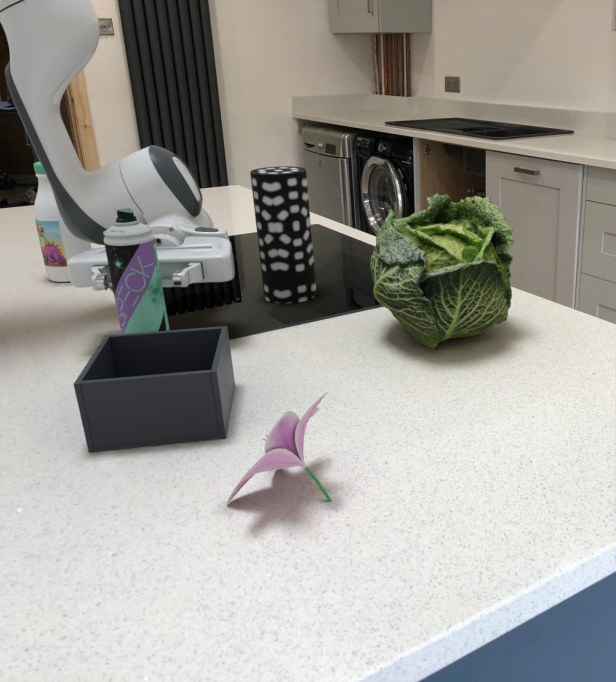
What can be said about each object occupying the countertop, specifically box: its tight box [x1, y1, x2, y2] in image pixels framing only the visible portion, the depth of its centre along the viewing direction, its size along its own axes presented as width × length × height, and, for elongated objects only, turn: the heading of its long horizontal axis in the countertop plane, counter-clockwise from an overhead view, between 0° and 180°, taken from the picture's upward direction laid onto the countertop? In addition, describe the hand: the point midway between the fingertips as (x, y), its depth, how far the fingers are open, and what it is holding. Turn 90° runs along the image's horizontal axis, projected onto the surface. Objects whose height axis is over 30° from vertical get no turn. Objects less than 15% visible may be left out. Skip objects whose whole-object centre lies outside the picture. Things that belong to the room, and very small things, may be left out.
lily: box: [226, 390, 332, 505], centre depth 64 cm, size 12×12×10 cm
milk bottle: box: [33, 161, 92, 283], centre depth 126 cm, size 8×8×20 cm
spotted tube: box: [249, 165, 318, 305], centre depth 115 cm, size 8×8×20 cm
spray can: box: [103, 209, 170, 334], centre depth 88 cm, size 6×6×20 cm
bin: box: [73, 325, 236, 453], centre depth 79 cm, size 13×13×8 cm
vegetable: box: [370, 192, 516, 350], centre depth 100 cm, size 20×19×20 cm
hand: (138, 282), depth 89 cm, fingers open, 8 cm apart
